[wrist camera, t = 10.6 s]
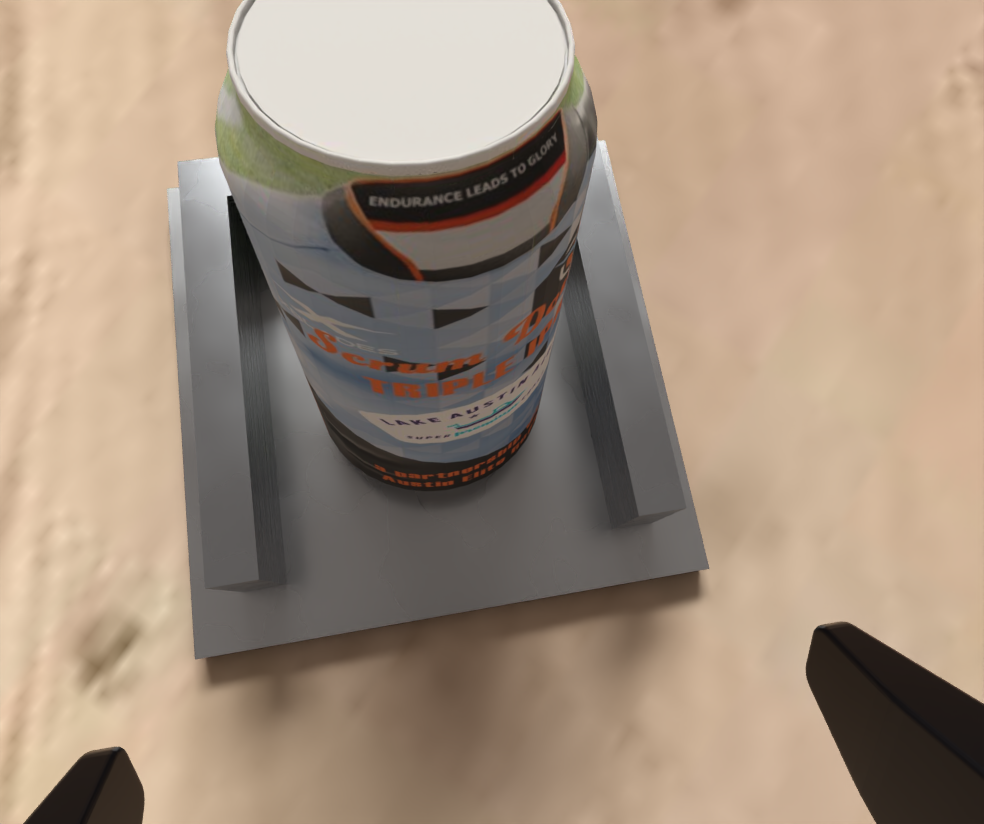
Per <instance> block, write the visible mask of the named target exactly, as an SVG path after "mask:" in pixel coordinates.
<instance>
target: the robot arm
mask: <svg viewBox="0 0 984 824" xmlns="http://www.w3.org/2000/svg"><path fill="white" fill-rule="evenodd" d="M806 676H807V680H808V684H809V686H810V688H811V691H812V693H813V695H814V697H815V699H816V701H817V704H818V706H819V708H820V710H821V712H822V714H823V717H824V719H825V721H826V723H827V725H828V727H829V730H830V732H831V734H832V736H833V738H834V740H835V743H836V745H837V747H838V749H839V751H840V753H841V756H842V758H843V760H844V762H845V764H846V766H847V769H848V771H849V773H850V775H851V777H852V779H853V781H854V783H855V785H856V787H857V789H858V791H859V793H860V795H861V797H862V799H863V801H864V802H865V804H866V806H867V808H868V810H869V811H870V813H871V815H872V817H873V818H874V820H875V822H876V823H877V824H984V704H983V703H982V702H980V701H978V700H977V699H975V698H973V697H972V696H970V695H968V694H967V693H965V692H963V691H962V690H960V689H958V688H957V687H955V686H953V685H952V684H950V683H948V682H947V681H945V680H944V679H942V678H940V677H939V676H937V675H935V674H934V673H932V672H930V671H929V670H927V669H925V668H924V667H922V666H920V665H919V664H917V663H915V662H914V661H912V660H910V659H909V658H907V657H906V656H904V655H902V654H901V653H899V652H897V651H896V650H894V649H892V648H891V647H889V646H887V645H886V644H884V643H882V642H881V641H879V640H877V639H876V638H874V637H872V636H871V635H869V634H868V633H866V632H864V631H863V630H861V629H859V628H858V627H856V626H854V625H852V624H850V623H848V622H835V623H829V624H823V625H820V626H818V627H817V628H816V629H815V630H814V632H813V636H812V641H811V645H810V650H809V654H808V658H807V663H806ZM143 812H144V790H143V786H142V784H141V782H140V779H139V777H138V775H137V773H136V771H135V769H134V767H133V765H132V763H131V761H130V759H129V757H128V754H127V753H126V751H125V750H124V749H123V748H121V747H111V748H105V749H99V750H93V751H90V752H87V753H85V754H84V755H83V756H82V757H80V758H79V759H78V760H77V762H76V763H75V764H74V765H73V766H72V767H71V769H70V770H69V771H68V772H67V773H66V774H65V776H64V777H63V778H62V779H61V780H60V781H59V783H58V784H57V785H56V786H55V787H54V788H53V790H52V791H51V792H50V793H49V794H48V795H47V797H46V798H45V799H44V800H43V801H42V802H41V803H40V805H39V806H38V807H37V808H36V809H35V810H34V812H33V813H32V814H31V815H30V816H29V817H28V819H27V820H26V821H25V822H24V823H23V824H142V820H143Z"/></svg>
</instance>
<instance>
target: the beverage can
mask: <svg viewBox="0 0 984 824" xmlns="http://www.w3.org/2000/svg"><path fill="white" fill-rule="evenodd" d="M226 55H227V61H228V68H229V69H228V71H227V74H226V77H225V80H224V82H223V85H222V88H221V91H220V94H219V98H218V106H217V115H216V123H215V135H216V143H217V150H218V157H219V163H220V166H221V169H222V171H223V174H224V176H225V179H226V181H227V184H228V186H229V189H230V191H231V194H232V196H233V199H234V201H235V203H236V206H237V208H238V211H239V213H240V216H241V218H242V221H243V223H244V226H245V228H246V231H247V233H248V236H249V238H250V240H251V243H252V245H253V248H254V250H255V253H256V255H257V258H258V260H259V263H260V265H261V268H262V270H263V273H264V275H265V277H266V280H267V282H268V285H269V287H270V290H271V292H272V295H273V297H274V300H275V302H276V305H277V307H278V310H279V312H280V315H281V317H282V319H283V322H284V324H285V327H286V329H287V332H288V334H289V337H290V339H291V342H292V344H293V347H294V349H295V352H296V354H297V356H298V359H299V361H300V364H301V366H302V369H303V371H304V374H305V376H306V379H307V381H308V384H309V386H310V389H311V391H312V393H313V396H314V398H315V401H316V403H317V406H318V408H319V411H320V413H321V416H322V418H323V421H324V423H325V426H326V428H327V430H328V433H329V435H330V437H331V439H332V440H333V442H334V443H335V445H336V446H337V448H338V449H339V451H340V452H341V453H342V454H343V455H344V456H345V457H346V458H347V459H348V460H349V461H350V462H351V463H352V464H353V465H354V466H355V467H357V468H358V469H360V470H361V471H363V472H364V473H365V474H367V475H368V476H370V477H372V478H374V479H376V480H379V481H381V482H383V483H385V484H388V485H391V486H395V487H399V488H402V489H406V490H416V491H441V490H449V489H454V488H458V487H462V486H466V485H469V484H471V483H474V482H476V481H478V480H481V479H483V478H485V477H487V476H488V475H490V474H492V473H493V472H495V471H496V470H498V469H499V468H501V467H502V466H503V465H504V464H505V463H507V462H508V461H509V460H510V459H511V458H512V457H513V456H514V455H515V454H516V453H517V452H518V450H519V449H520V448H521V446H522V445H523V444H524V442H525V441H526V440H527V438H528V436H529V434H530V432H531V430H532V428H533V426H534V423H535V420H536V416H537V413H538V409H539V405H540V400H541V396H542V392H543V387H544V383H545V378H546V374H547V369H548V365H549V360H550V356H551V351H552V347H553V342H554V338H555V333H556V329H557V325H558V320H559V316H560V311H561V307H562V302H563V298H564V293H565V289H566V284H567V280H568V275H569V271H570V267H571V262H572V258H573V253H574V249H575V244H576V240H577V235H578V231H579V226H580V222H581V217H582V213H583V208H584V204H585V200H586V195H587V191H588V186H589V182H590V177H591V173H592V168H593V164H594V159H595V155H596V147H597V116H596V111H595V107H594V102H593V97H592V92H591V89H590V86H589V84H588V81H587V79H586V77H585V75H584V73H583V70H582V68H581V66H580V64H579V62H578V60H577V58H576V56H575V43H574V38H573V33H572V28H571V24H570V21H569V19H568V17H567V15H566V13H565V11H564V9H563V6H562V4H561V3H560V2H559V0H243V1H242V3H241V4H240V6H239V7H238V9H237V10H236V13H235V16H234V18H233V21H232V24H231V26H230V29H229V32H228V41H227V50H226Z"/></svg>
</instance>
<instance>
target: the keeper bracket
mask: <svg viewBox="0 0 984 824" xmlns="http://www.w3.org/2000/svg"><path fill="white" fill-rule="evenodd" d="M178 177H179V187H178V188H169V189H167V195H168V212H169V229H170V246H171V263H172V280H173V296H174V313H175V330H176V347H177V364H178V381H179V398H180V414H181V431H182V448H183V465H184V482H185V499H186V516H187V533H188V549H189V566H190V583H191V600H192V617H193V634H194V651H195V659H201V658H206V657H212V656H218V655H223V654H229V653H235V652H240V651H246V650H252V649H257V648H263V647H269V646H274V645H280V644H286V643H291V642H297V641H303V640H308V639H314V638H320V637H325V636H331V635H337V634H342V633H348V632H354V631H359V630H365V629H370V628H376V627H382V626H387V625H393V624H399V623H404V622H410V621H416V620H421V619H427V618H433V617H438V616H444V615H450V614H455V613H461V612H467V611H472V610H478V609H484V608H489V607H495V606H501V605H506V604H512V603H518V602H523V601H529V600H534V599H540V598H546V597H551V596H557V595H563V594H568V593H574V592H580V591H585V590H591V589H597V588H602V587H608V586H614V585H619V584H625V583H631V582H636V581H642V580H648V579H653V578H659V577H665V576H670V575H676V574H681V573H687V572H693V571H698V570H704V569H709V565H708V561H707V557H706V553H705V549H704V545H703V541H702V536H701V532H700V528H699V524H698V520H697V516H696V512H695V508H694V504H693V500H692V495H691V491H690V487H689V483H688V479H687V475H686V471H685V467H684V463H683V458H682V454H681V450H680V446H679V442H678V438H677V434H676V430H675V426H674V422H673V417H672V413H671V409H670V405H669V401H668V397H667V393H666V389H665V385H664V381H663V376H662V372H661V368H660V364H659V360H658V356H657V352H656V348H655V344H654V339H653V335H652V331H651V327H650V323H649V319H648V315H647V311H646V307H645V303H644V298H643V294H642V290H641V286H640V282H639V278H638V274H637V270H636V266H635V262H634V257H633V253H632V249H631V245H630V241H629V237H628V233H627V229H626V225H625V221H624V216H623V212H622V208H621V204H620V200H619V196H618V192H617V188H616V184H615V179H614V175H613V171H612V167H611V163H610V159H609V155H608V151H607V147H606V143H605V140H603V141H598V138H597V147H596V155H595V159H594V164H593V168H592V173H591V177H590V182H589V186H588V191H587V195H586V200H585V204H584V208H583V213H582V217H581V222H580V226H579V231H578V235H577V240H576V244H575V249H574V253H573V258H572V262H571V267H570V271H569V275H568V280H567V284H566V289H565V293H564V298H563V302H562V307H561V311H560V316H559V320H558V325H557V329H556V333H555V338H554V342H553V347H552V351H551V356H550V360H549V365H548V369H547V374H546V378H545V383H544V387H543V392H542V396H541V400H540V405H539V409H538V413H537V416H536V420H535V423H534V426H533V428H532V430H531V432H530V434H529V436H528V438H527V440H526V441H525V442H524V444H523V445H522V446H521V448H520V449H519V450H518V452H517V453H516V454H515V455H514V456H513V457H512V458H511V459H510V460H509V461H508V462H507V463H505V464H504V465H503V466H502V467H501V468H499V469H498V470H496V471H495V472H493V473H492V474H490V475H488V476H487V477H485V478H483V479H481V480H478V481H476V482H474V483H471V484H469V485H466V486H462V487H458V488H454V489H449V490H441V491H416V490H406V489H402V488H399V487H395V486H391V485H388V484H385V483H383V482H381V481H379V480H376V479H374V478H372V477H370V476H368V475H367V474H365V473H364V472H363V471H361V470H360V469H358V468H357V467H355V466H354V465H353V464H352V463H351V462H350V461H349V460H348V459H347V458H346V457H345V456H344V455H343V454H342V453H341V452H340V451H339V449H338V448H337V446H336V445H335V443H334V442H333V440H332V439H331V437H330V435H329V433H328V430H327V428H326V426H325V423H324V421H323V418H322V416H321V413H320V411H319V408H318V406H317V403H316V401H315V398H314V396H313V393H312V391H311V389H310V386H309V384H308V381H307V379H306V376H305V374H304V371H303V369H302V366H301V364H300V361H299V359H298V356H297V354H296V352H295V349H294V347H293V344H292V342H291V339H290V337H289V334H288V332H287V329H286V327H285V324H284V322H283V319H282V317H281V315H280V312H279V310H278V307H277V305H276V302H275V300H274V297H273V295H272V292H271V290H270V287H269V285H268V282H267V280H266V277H265V275H264V273H263V270H262V268H261V265H260V263H259V260H258V258H257V255H256V253H255V250H254V248H253V245H252V243H251V240H250V238H249V236H248V233H247V231H246V228H245V226H244V223H243V221H242V218H241V216H240V213H239V211H238V208H237V206H236V203H235V201H234V199H233V196H232V194H231V191H230V189H229V186H228V184H227V181H226V179H225V176H224V174H223V171H222V169H221V166H220V163H219V157H216V158H207V159H198V160H188V161H179V162H178Z"/></svg>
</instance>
